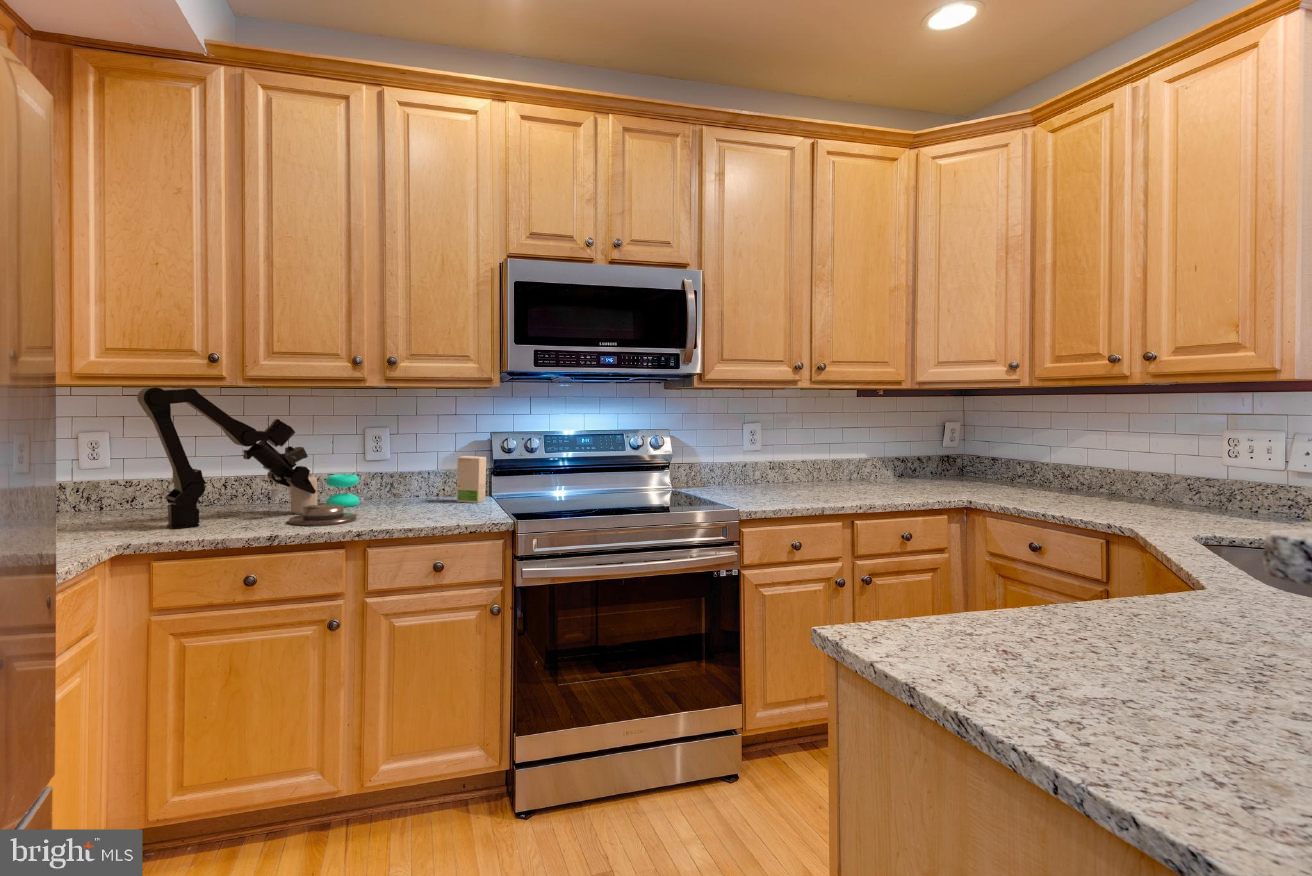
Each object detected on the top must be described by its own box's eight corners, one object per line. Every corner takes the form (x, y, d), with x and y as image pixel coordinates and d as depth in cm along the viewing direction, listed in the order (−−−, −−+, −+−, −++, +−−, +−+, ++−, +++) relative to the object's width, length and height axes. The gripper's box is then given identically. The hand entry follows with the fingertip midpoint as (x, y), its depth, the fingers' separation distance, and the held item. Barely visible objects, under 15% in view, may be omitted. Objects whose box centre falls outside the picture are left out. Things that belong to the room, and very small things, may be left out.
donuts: (365, 474, 250) (346, 477, 240) (365, 504, 250) (346, 508, 240) (338, 473, 252) (319, 476, 242) (339, 502, 252) (319, 507, 243)
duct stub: (304, 528, 205) (304, 514, 205) (278, 520, 217) (278, 507, 217) (367, 520, 218) (367, 507, 218) (339, 513, 230) (339, 500, 230)
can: (307, 515, 227) (306, 476, 226) (285, 514, 228) (284, 475, 228) (322, 511, 234) (322, 473, 234) (301, 510, 236) (300, 472, 235)
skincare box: (456, 502, 255) (455, 457, 254) (464, 499, 261) (463, 455, 260) (479, 503, 254) (479, 457, 253) (486, 500, 260) (486, 456, 259)
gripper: (302, 439, 221) (339, 474, 230) (277, 437, 233) (313, 469, 242) (275, 468, 215) (314, 502, 224) (250, 463, 228) (289, 496, 237)
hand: (308, 491), depth 232 cm, fingers open, 9 cm apart
